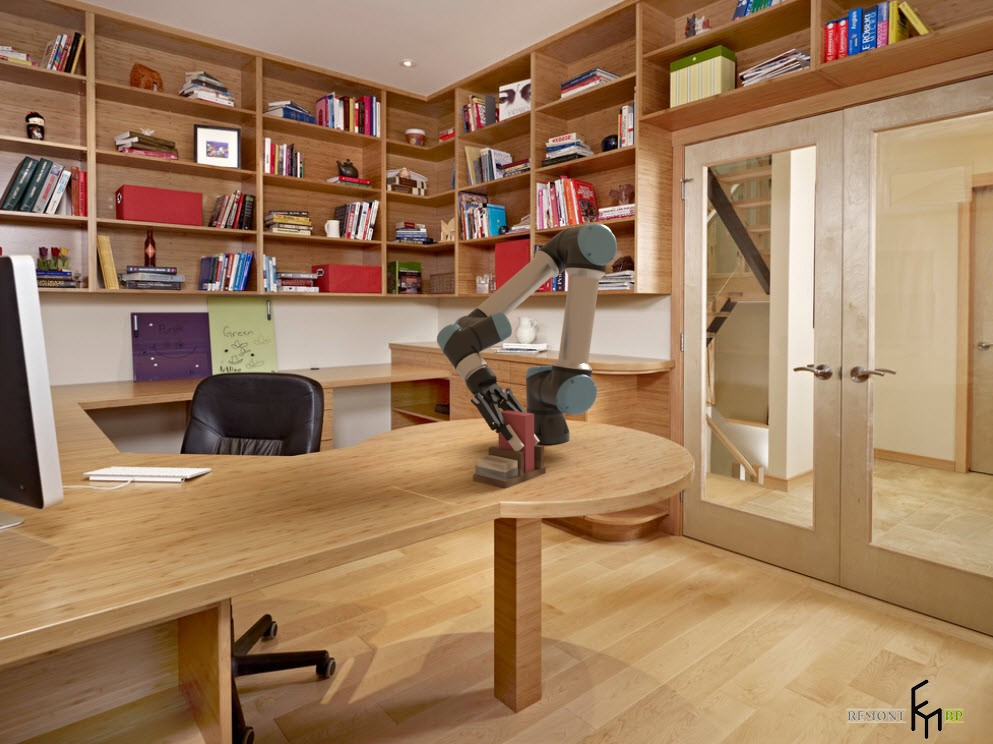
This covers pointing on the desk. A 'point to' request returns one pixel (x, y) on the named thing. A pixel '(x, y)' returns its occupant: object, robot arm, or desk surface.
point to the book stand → (507, 467)
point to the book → (520, 435)
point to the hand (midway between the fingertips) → (527, 446)
